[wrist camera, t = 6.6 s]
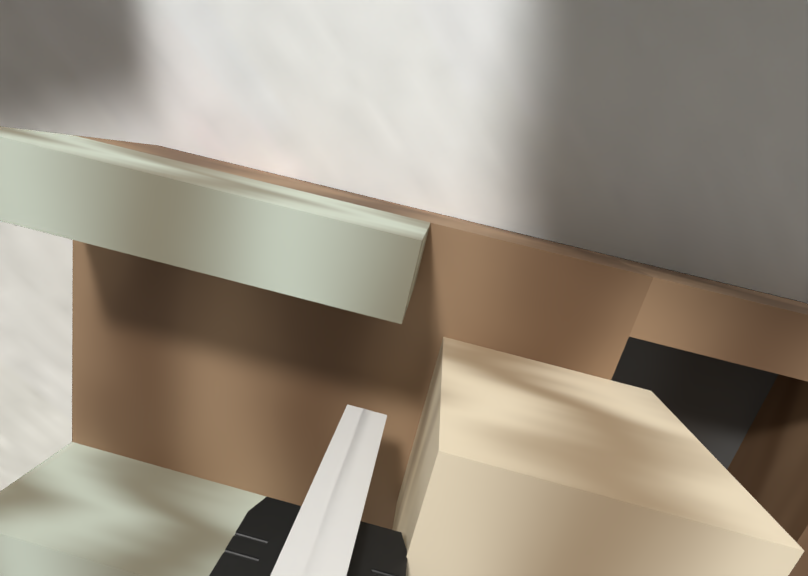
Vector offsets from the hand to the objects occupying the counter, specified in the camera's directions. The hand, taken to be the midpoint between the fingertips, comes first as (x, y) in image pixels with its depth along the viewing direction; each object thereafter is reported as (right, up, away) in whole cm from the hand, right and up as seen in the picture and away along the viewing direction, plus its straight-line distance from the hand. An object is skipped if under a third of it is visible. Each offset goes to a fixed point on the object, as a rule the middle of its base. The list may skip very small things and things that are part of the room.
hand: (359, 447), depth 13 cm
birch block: (+5, -1, +2) cm, 6 cm away
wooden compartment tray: (+4, +1, +6) cm, 7 cm away
